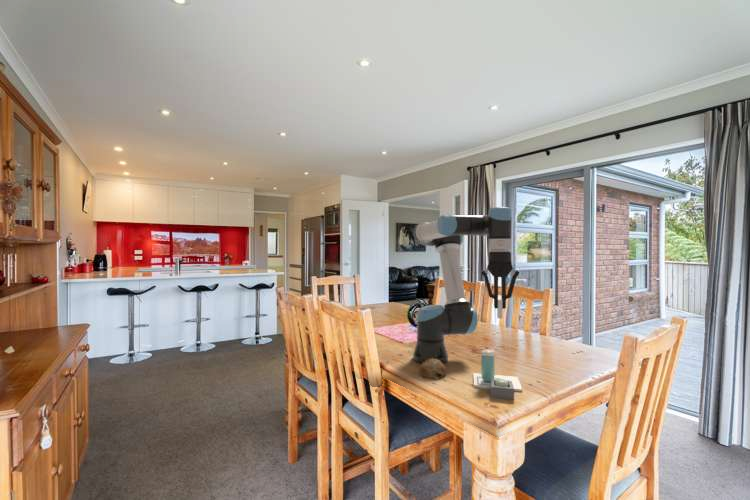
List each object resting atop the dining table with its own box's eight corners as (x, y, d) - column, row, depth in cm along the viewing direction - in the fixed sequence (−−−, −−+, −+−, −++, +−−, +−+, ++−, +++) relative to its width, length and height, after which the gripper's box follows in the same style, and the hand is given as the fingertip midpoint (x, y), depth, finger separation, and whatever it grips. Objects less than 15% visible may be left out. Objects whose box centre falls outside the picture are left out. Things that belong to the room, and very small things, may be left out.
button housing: (491, 397, 115) (491, 386, 115) (490, 389, 122) (490, 379, 122) (514, 399, 114) (514, 388, 113) (511, 391, 120) (511, 381, 120)
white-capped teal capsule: (481, 382, 126) (481, 352, 126) (481, 378, 130) (481, 349, 130) (494, 384, 124) (494, 353, 124) (494, 379, 129) (494, 350, 128)
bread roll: (425, 388, 132) (430, 372, 129) (413, 369, 140) (417, 353, 137) (447, 384, 136) (453, 368, 133) (434, 365, 144) (439, 350, 141)
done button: (495, 394, 116) (495, 382, 116) (495, 390, 120) (495, 378, 120) (508, 396, 115) (508, 384, 115) (507, 391, 119) (507, 379, 119)
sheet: (473, 387, 124) (473, 384, 124) (473, 375, 136) (473, 372, 136) (522, 391, 120) (522, 389, 120) (517, 379, 131) (517, 376, 131)
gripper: (480, 251, 122) (481, 318, 122) (521, 251, 119) (521, 320, 119) (480, 250, 130) (480, 314, 130) (518, 250, 126) (518, 316, 126)
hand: (499, 317), depth 124 cm, fingers closed
